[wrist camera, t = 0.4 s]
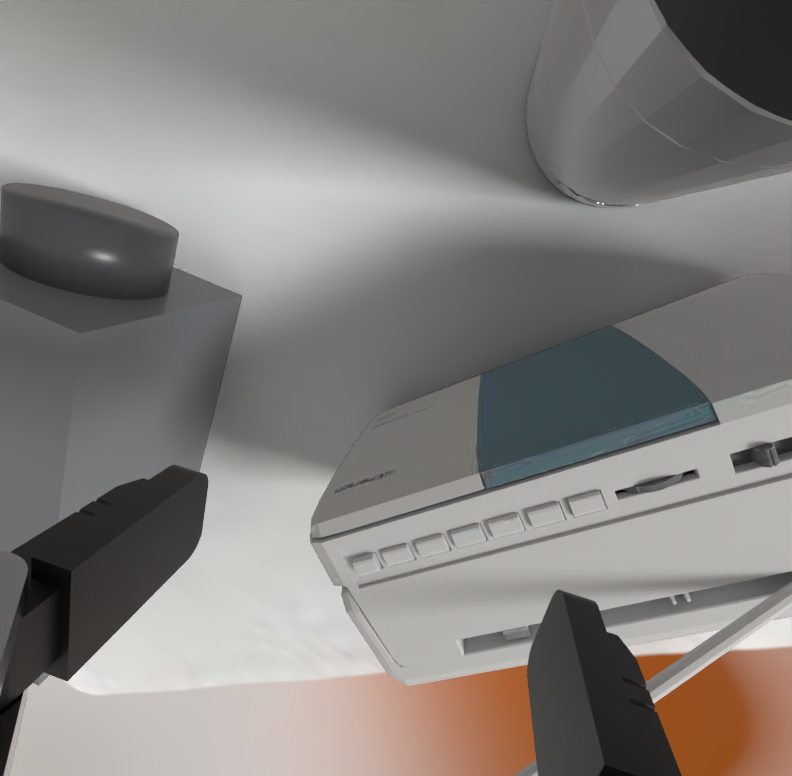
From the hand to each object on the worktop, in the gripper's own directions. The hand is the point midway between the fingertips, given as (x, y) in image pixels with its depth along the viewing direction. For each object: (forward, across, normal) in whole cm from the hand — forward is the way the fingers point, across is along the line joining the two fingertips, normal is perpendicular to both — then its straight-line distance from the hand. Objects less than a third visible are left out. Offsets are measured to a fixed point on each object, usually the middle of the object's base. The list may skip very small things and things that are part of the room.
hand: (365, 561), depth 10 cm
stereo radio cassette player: (+18, -7, 0) cm, 20 cm away
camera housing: (+18, +19, +6) cm, 27 cm away
